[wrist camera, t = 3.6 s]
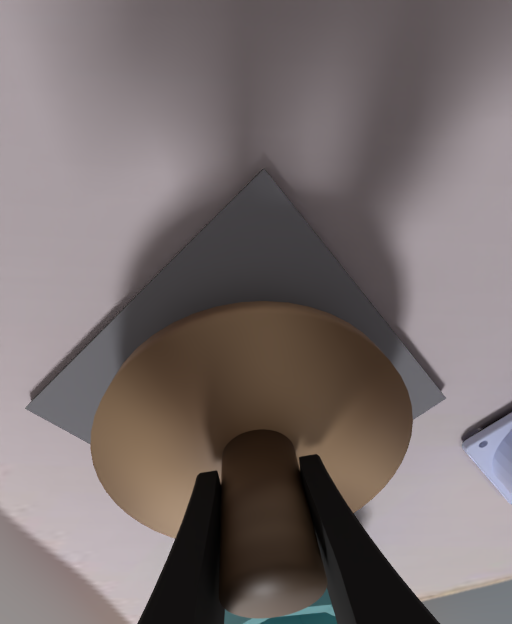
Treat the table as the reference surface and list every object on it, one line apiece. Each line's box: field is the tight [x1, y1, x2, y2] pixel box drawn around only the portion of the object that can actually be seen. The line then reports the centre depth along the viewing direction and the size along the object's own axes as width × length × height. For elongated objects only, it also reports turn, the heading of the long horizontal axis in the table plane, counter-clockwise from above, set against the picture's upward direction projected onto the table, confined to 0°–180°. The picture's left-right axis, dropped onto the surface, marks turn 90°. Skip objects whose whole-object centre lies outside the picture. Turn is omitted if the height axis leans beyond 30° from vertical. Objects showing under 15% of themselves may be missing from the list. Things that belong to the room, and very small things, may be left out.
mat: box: [25, 169, 446, 444], centre depth 14 cm, size 14×14×1 cm
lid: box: [91, 301, 413, 619], centre depth 10 cm, size 12×12×5 cm
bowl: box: [224, 588, 337, 624], centre depth 19 cm, size 9×9×4 cm
